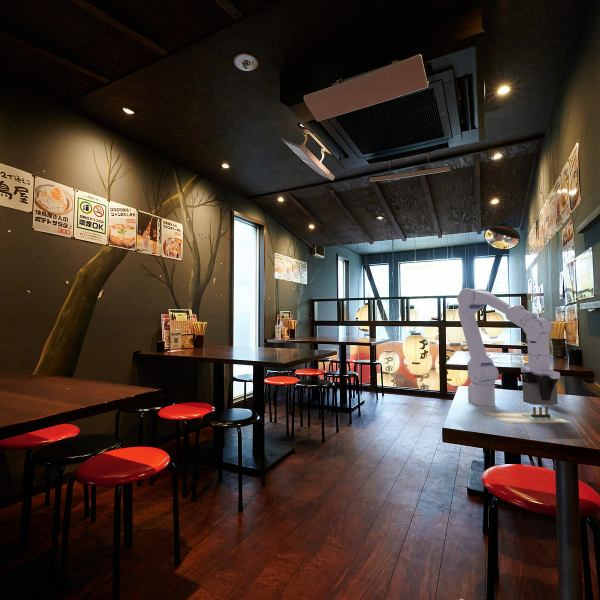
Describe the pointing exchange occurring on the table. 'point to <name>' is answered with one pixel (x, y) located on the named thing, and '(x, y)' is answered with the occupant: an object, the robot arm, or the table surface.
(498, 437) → the table surface
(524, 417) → the header board
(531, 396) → the connector cap
